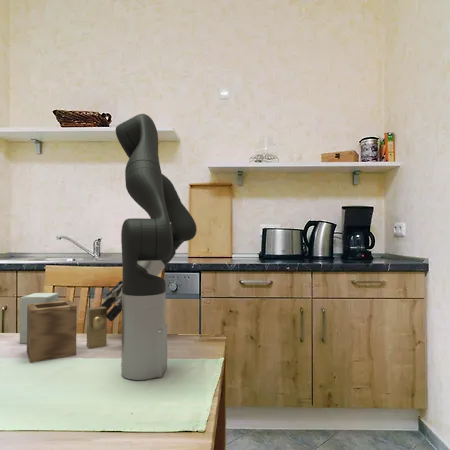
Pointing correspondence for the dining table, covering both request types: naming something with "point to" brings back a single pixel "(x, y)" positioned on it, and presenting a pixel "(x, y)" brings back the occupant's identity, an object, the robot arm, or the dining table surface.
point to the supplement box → (23, 309)
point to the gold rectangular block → (96, 327)
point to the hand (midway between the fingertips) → (103, 315)
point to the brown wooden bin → (51, 330)
